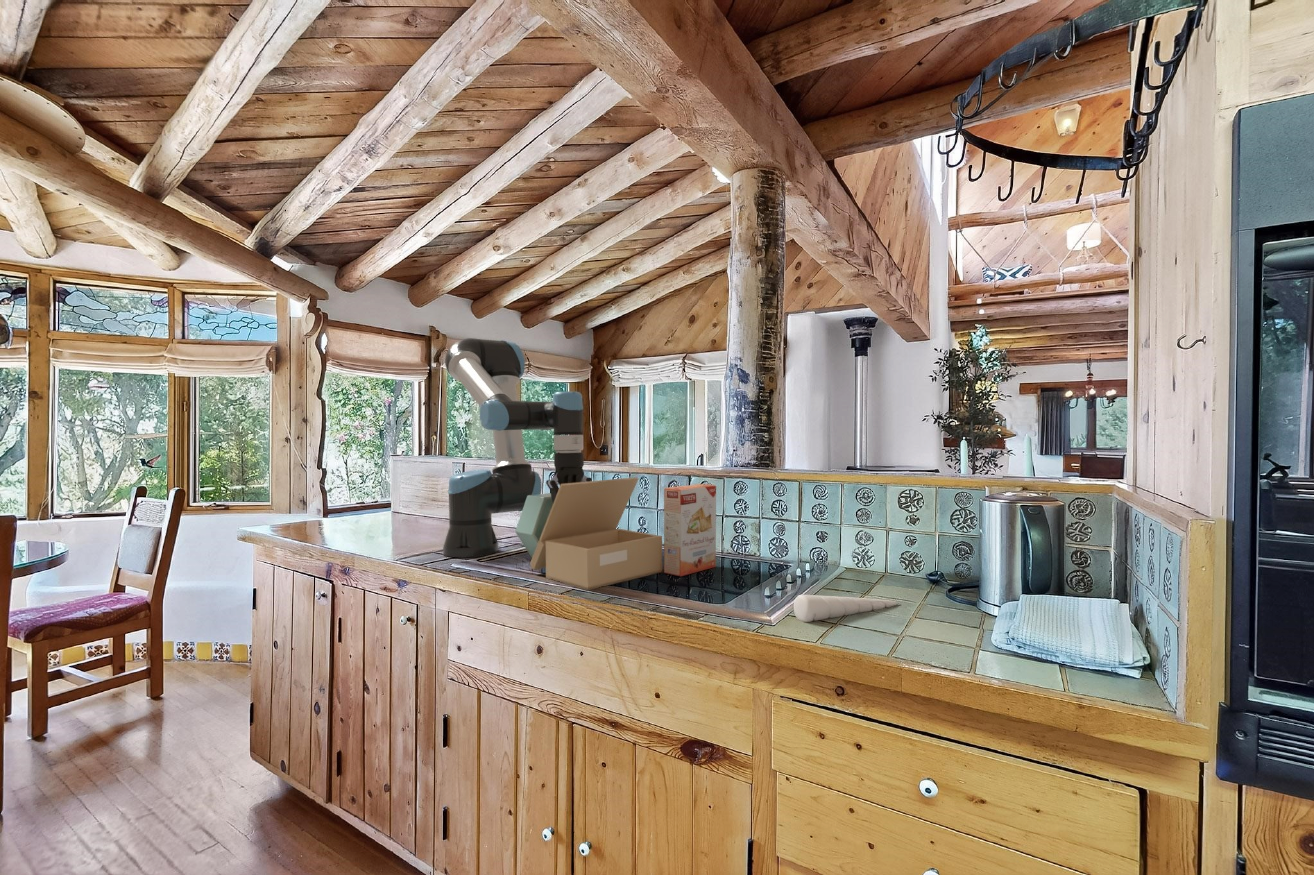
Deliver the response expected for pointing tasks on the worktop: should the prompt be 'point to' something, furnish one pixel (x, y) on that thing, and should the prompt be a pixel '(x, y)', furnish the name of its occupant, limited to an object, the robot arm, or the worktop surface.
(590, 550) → the mailer
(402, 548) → the worktop surface
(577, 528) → the lid
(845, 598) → the unicorn horn
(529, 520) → the planter
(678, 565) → the cracker box
